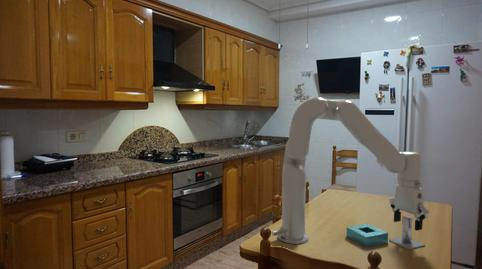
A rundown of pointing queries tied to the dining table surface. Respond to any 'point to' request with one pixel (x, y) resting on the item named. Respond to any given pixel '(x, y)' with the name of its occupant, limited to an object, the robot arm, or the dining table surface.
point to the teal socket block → (367, 235)
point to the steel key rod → (407, 229)
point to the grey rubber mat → (407, 246)
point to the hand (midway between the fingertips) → (407, 225)
